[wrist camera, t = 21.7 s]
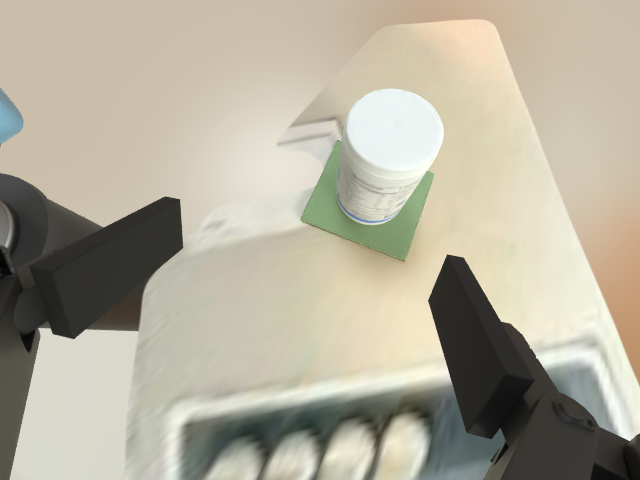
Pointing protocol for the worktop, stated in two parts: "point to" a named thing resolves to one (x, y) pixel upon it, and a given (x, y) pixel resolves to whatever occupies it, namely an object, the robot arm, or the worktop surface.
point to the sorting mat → (380, 237)
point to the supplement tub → (385, 153)
